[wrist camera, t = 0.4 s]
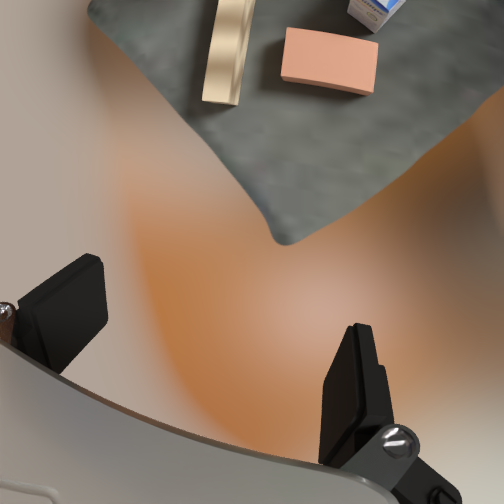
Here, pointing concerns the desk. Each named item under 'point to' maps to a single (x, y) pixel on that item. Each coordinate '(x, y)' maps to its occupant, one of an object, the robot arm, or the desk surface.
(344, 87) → the block
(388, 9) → the medicine box
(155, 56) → the desk surface
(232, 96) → the board
